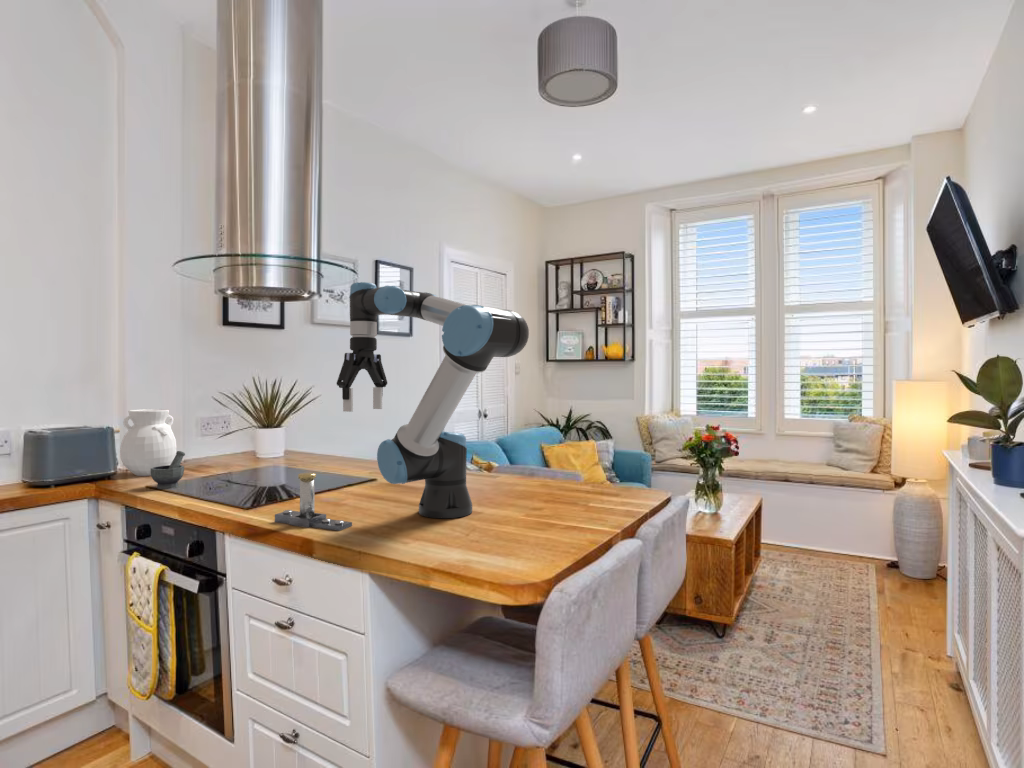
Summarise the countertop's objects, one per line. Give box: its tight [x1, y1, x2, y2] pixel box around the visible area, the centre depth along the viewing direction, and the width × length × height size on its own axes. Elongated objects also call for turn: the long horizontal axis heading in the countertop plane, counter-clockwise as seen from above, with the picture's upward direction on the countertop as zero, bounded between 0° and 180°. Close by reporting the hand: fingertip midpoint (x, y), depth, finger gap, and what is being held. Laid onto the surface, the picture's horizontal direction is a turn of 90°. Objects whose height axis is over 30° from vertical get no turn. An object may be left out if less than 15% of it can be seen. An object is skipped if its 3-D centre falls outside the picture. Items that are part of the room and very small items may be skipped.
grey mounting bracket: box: [274, 509, 353, 532], centre depth 147 cm, size 21×6×3 cm, turn 67°
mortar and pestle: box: [150, 450, 186, 490], centre depth 195 cm, size 11×9×12 cm
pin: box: [297, 471, 317, 519], centre depth 148 cm, size 4×4×13 cm
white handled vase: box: [119, 408, 177, 477], centre depth 219 cm, size 19×18×25 cm
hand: (363, 410), depth 164 cm, fingers open, 13 cm apart
